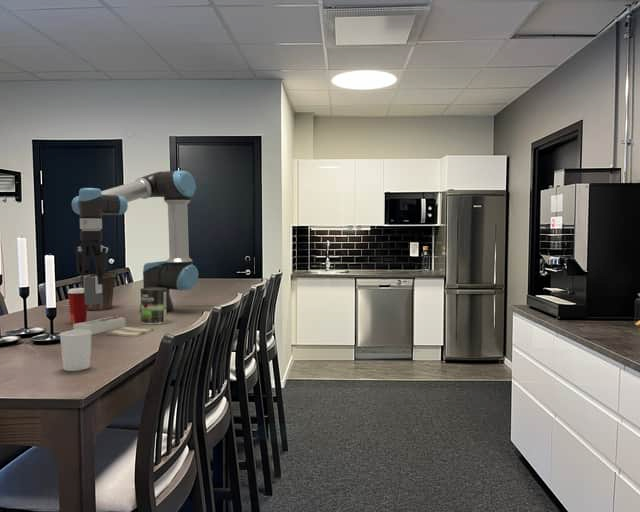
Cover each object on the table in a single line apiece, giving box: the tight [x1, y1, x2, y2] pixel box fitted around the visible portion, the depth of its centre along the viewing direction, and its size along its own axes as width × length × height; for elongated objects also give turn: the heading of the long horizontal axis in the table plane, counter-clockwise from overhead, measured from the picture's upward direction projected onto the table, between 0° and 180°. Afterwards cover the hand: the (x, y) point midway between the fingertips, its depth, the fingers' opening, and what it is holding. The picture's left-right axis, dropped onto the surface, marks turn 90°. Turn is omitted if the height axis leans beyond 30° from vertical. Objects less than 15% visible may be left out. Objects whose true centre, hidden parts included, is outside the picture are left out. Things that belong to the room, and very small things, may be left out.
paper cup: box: [67, 287, 88, 325], centre depth 209 cm, size 8×8×14 cm
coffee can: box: [139, 287, 168, 326], centre depth 211 cm, size 10×10×14 cm
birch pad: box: [105, 326, 155, 338], centre depth 191 cm, size 12×12×1 cm
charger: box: [84, 276, 103, 305], centre depth 191 cm, size 5×4×10 cm
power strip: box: [72, 315, 126, 336], centre depth 195 cm, size 18×7×5 cm, turn 154°
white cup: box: [59, 329, 92, 372], centre depth 142 cm, size 8×8×10 cm
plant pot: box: [79, 273, 117, 311], centre depth 246 cm, size 16×16×16 cm
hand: (93, 292), depth 191 cm, fingers closed on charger, 4 cm apart
